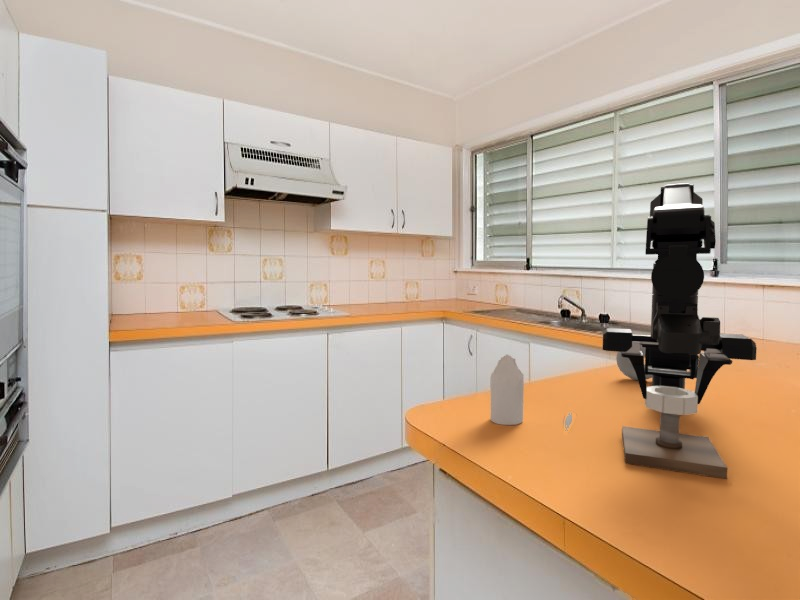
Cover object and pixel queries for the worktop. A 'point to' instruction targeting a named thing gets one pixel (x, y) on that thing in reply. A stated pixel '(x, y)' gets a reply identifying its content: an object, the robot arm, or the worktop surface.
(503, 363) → the grey bullet shape
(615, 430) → the worktop surface
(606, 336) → the robot arm
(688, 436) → the peg stand
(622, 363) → the donut
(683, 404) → the ring
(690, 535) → the worktop surface
